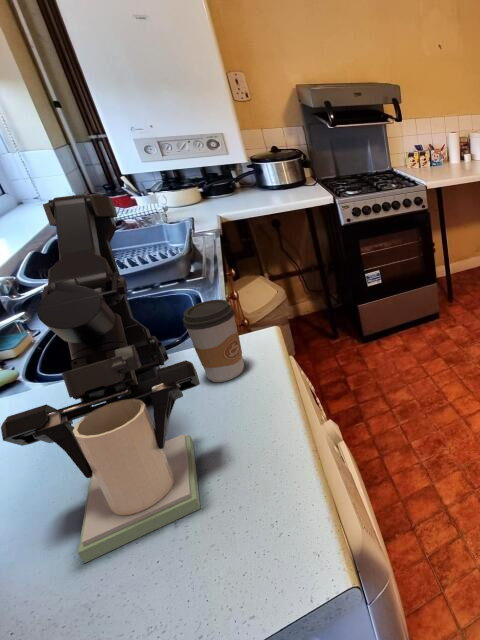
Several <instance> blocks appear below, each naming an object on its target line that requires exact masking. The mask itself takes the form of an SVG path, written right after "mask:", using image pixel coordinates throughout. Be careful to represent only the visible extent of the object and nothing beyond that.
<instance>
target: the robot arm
mask: <svg viewBox="0 0 480 640" xmlns="http://www.w3.org/2000/svg"><path fill="white" fill-rule="evenodd" d="M42 207H43V210H44V213H45V215H46V216H45V217H46V219H47V221H48V224H49V226H51V227H55V228H56V229H55V231H56V239H57V247H58V256H59V260H58V261H57V262H56V263H54V265H52V266H51V267H50V268H49V269H48V270H47V275H48V276H47V285H46V286H44V287H43V291H42V296H41V300H40V303H39V305H38V307H37V309H36V316H37V318H38V319H39V321H40V322H41V323H42V324H43V325H45V327H47V328H48V329H49V330H50V331H52V332H53V333H54V334H55V335H57V337H58V338H60V339H61V340H63V341H64V342H67V343H68V349H69V353H70V358H71V359H70V362H71V363H70V366H71V369H70V370H67V371H63V372H61V375H62V378H63V381H64V385H65V387H66V391H67V394H68V398H72V399H74V400H76V401H77V400H80V401H79V402H77V403H74V404H71V405H68V406H65V407H64V406H63V407H61V408H58V409H57V408H55V407H53V406H51V405H49V404H47V403H46V404H43V405H40V406H36V407H34V408H33V407H32V408H31V409H27V410H24V411H20V412H18V413H14V414H11V415H9V416H7V417H6V418H4V421H3V422H2V424H1V426H0V432H1V437H2V441H3V442H7V443H11V444H15V445H18V446H22V447H23V446H29V445H33V444H34V443H37V442H45V443H47V444H54V443H55V445H57V446H58V447H60V449H62V450H63V451H64V452H65V454H67V456H68V457H69V458H70V460H71V461H72V463H73V464H75V466H76V467H77V468H78V470H79V471H80V472H81V473H82V475H83V476H84V478H86V479H90V478H91V477H93V473H92V470H91V468H90V466H89V464H88V462H87V460H86V458H85V456H84V454H83V452H82V450H81V448H80V446H79V444H78V442H77V440H76V438H75V436H74V434H73V429H74V427H75V426H73V424H74V421H75V420H79V419H82V418H83V417H84V416H86V415H88V414H89V413H91V412H92V411H94V410H96V409H98V408H100V407H103V406H105V405H107V404H110V403H113V402H117V401H120V400H127V399H137V400H142V401H143V403H144V404H145V405H146V406H151V405H152V406H151V407H152V412H153V413H152V414H153V420H154V421H153V424H154V428H155V432H156V439H157V442H158V446H159V449H163V448H164V447H165V441H167V434H168V428H169V423H170V418H171V414H172V413H173V409H174V405H175V403H176V401H177V400H178V399H181V398H183V397H184V394H183V392H184V391H188V390H190V389H193V388H196V387H198V386H200V385H201V382H200V378H199V375H198V372H197V369H196V367H195V365H194V363H193V362H191V361H190V360H187V359H186V360H182V361H179V362H177V363H173V364H170V365H167V366H166V365H165V362H167V361H168V360H169V355H168V352H167V350H166V347H165V346H164V344H163V342H162V341H160V340H159V339H158V338H157V337H156V336H155V335H151V332H150V329H149V328H147V327H146V326H145V325H143V324H142V323H140V322H139V321H138V320H137V319H135V318H134V316H133V312H132V309H131V305H130V302H129V300H128V296H127V290H128V289H127V288H128V284H127V281H126V279H125V277H122V276H121V274H120V271H119V268H118V264H117V262H116V259H115V255H114V252H113V249H112V246H111V241H112V240H113V238H114V235H115V234H116V231H117V228H118V227H117V225H116V221H115V220H116V218H118V212H117V209H116V207H115V204H114V201H113V199H112V198H111V197H109V196H108V195H102V194H101V193H93V194H84V193H83V194H82V193H81V194H73V195H65V196H55V197H54V198H53V199H48V200H47V202H45V203H43V204H42ZM160 366H164V367H160Z"/></svg>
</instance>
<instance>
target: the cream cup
mask: <svg viewBox="0 0 480 640" xmlns="http://www.w3.org/2000/svg"><path fill="white" fill-rule="evenodd" d="M73 427H74V429H73V434H74V436H75V438H76V440H77V442H78V444H79V446H80V448H81V450H82V452H83V454H84V456H85V458H86V460H87V462H88V464H89V466H90V468H91V470H92V472H93V474H94V476H95V478H96V480H97V482H98V484H99V487H100V489H101V491H102V493H103V495H104V497H105V499H106V501H107V503H108V505H109V507H110V509H111V511H112V512H113V513H115V514H117V515H130V514H134V513H137V512H140V511H143V510H145V509H147V508H149V507H151V506H152V505H154V504H155V503H157V502H158V501H160V500H161V499H162V498H163V497H164V496H165V495H166V494H167V493H168V492H169V491H170V489H171V488H172V486H173V483H174V477H173V473H172V470H171V468H170V465H169V463H168V460H167V458H166V455H165V453H164V450H163V449H159V446H158V442H157V439H156V432H155V424H154V422H153V420H152V418H151V415H150V413H149V411H148V408H147V405H145V404H144V403H143V401H142V400H137V399H127V400H120V401H117V402H113V403H110V404H107V405H105V406H103V407H100V408H98V409H96V410H94V411H92V412H91V413H89V414H88V415H86V416H84V417H81V418H80V420H79V421H78V422H77V423H75V425H74V426H73Z"/></svg>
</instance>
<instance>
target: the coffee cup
mask: <svg viewBox="0 0 480 640" xmlns="http://www.w3.org/2000/svg"><path fill="white" fill-rule="evenodd" d="M235 313H236V312H235V310H234V308H233V306H232V305H231V304H230V303H229V301H228V300H227V299H210V300H206V301H202V302H198V303H196V304H194V305H191V306H190V307H188V308H187V309H185V310H184V312H183V318H182V322H183V328H185V329H186V331H187V332H188V335H189V338H190V340H191V341H192V345H193V348H194V351H195V354H196V355H197V357H198V360H199V362H200V364H201V366H202V367H203V370H204V373H205V374H206V377H207V379H208V380H209V381H211V382H214V383H223V382H227V381H231V380H233V379H235V378H237V377H238V376H240V375H241V374H242V373H243V371H244V368H245V363H244V357H243V350H242V346H241V340H240V335H239V332H238V328H237V323H236V318H235Z"/></svg>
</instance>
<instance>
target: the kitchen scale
mask: <svg viewBox="0 0 480 640" xmlns="http://www.w3.org/2000/svg"><path fill="white" fill-rule="evenodd" d="M163 450H164V453H165V455H166V458H167V460H168V463H169V465H170V468H171V470H172V473H173V477H174V483H173V486H172V488H171V489H170V491H169V492H168V493H167V494H166V495H165V496H164V497H163V498H162V499H161V500H160V501H158V502H157V503H155V504H154V505H152V506H151V507H149V508H147V509H145V510H143V511H140V512H137V513H134V514H130V515H117V514H115V513H113V512H112V511H111V509H110V507H109V505H108V503H107V501H106V499H105V497H104V495H103V493H102V491H101V489H100V487H99V484H98V482H97V480H96V478H95V476H94V474H93V477H91V478H89V484H88V488H87V495H86V502H85V507H84V509H85V510H84V514H83V520H82V526H81V532H80V539H79V543H78V551H77V553H78V555H79V558H80V559H81V560H82V563H83V564H86V563H88V562H91V561H92V560H95V559H97V558H99V557H101V556H103V555H106V554H108V553H109V552H111V551H114V550H115V549H118V548H120V547H122V546H124V545H126V544H129V543H130V542H132V541H135V540H137V539H139V538H142V537H143V536H145V535H148V534H150V533H152V532H154V531H156V530H158V529H160V528H162V527H164V526H166V525H168V524H170V523H173V522H174V521H177V520H179V519H181V518H183V517H185V516H188V515H190V514H192V513H194V512H196V511H198V510H201V502H200V501H201V500H200V493H199V484H198V483H199V482H198V474H197V466H196V465H197V464H196V456H195V447H194V442H193V439H192V437H191V434H187V435H186V434H185V433H183V434H180V435H178V436H176V437H173V438H170V439H168V440H167V439H166V441H165V447H164V448H163ZM92 473H93V472H92Z"/></svg>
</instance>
